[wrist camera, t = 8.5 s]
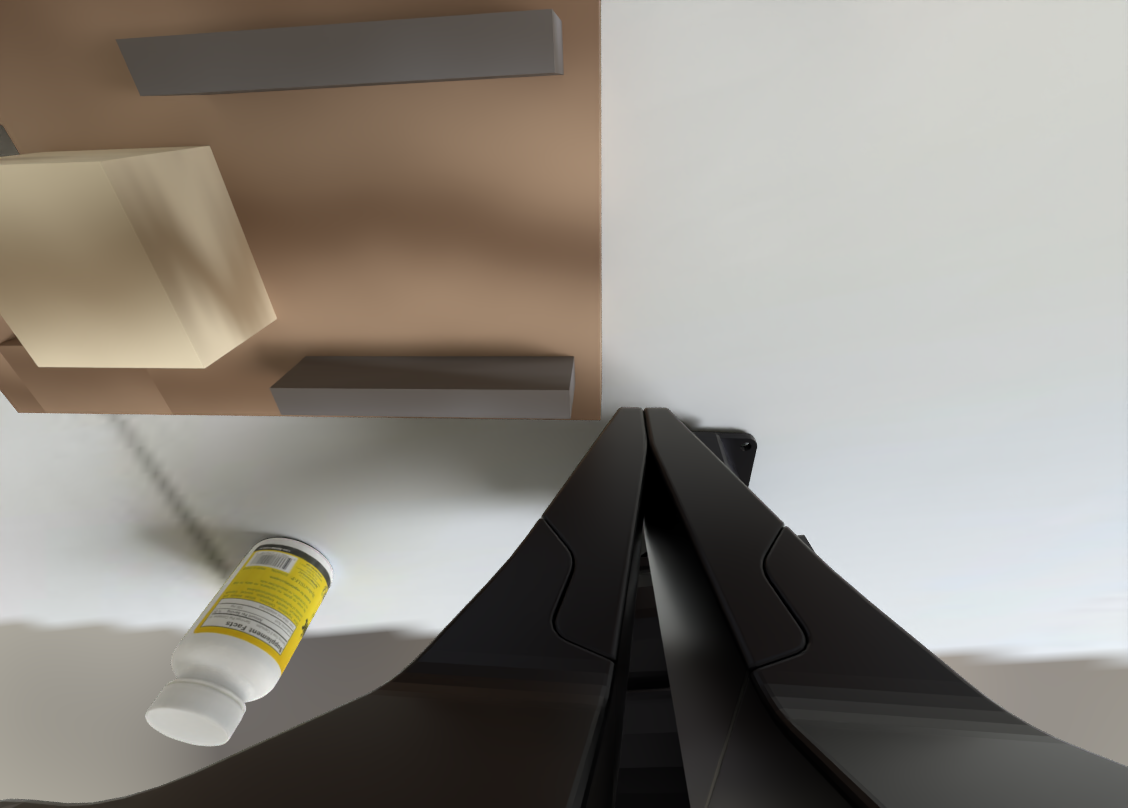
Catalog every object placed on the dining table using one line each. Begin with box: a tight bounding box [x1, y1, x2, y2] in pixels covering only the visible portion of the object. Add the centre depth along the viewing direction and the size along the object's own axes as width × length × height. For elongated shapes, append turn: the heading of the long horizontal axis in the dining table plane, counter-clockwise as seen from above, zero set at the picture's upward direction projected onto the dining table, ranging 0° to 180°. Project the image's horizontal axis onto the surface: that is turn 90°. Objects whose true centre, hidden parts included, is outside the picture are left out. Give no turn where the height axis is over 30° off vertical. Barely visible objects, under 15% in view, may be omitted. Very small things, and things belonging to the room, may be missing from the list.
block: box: [0, 146, 277, 368], centre depth 16 cm, size 6×6×4 cm
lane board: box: [0, 0, 602, 420], centre depth 17 cm, size 15×28×5 cm, turn 93°
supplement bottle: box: [145, 538, 333, 746], centre depth 27 cm, size 5×5×10 cm
